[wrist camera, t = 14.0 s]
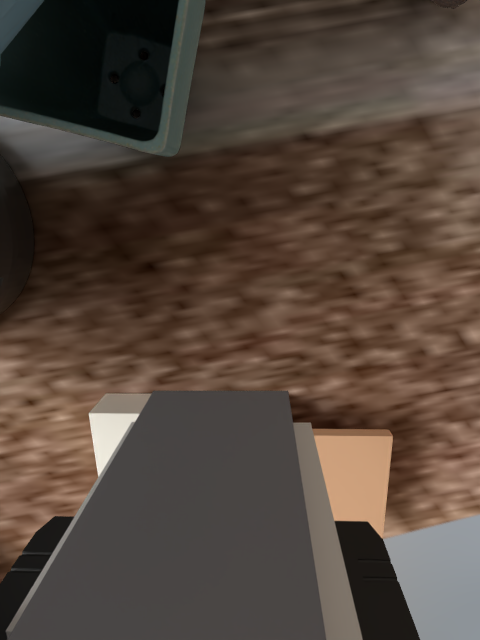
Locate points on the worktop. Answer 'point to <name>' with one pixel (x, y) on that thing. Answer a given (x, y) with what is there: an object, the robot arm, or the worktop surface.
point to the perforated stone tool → (449, 3)
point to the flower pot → (105, 70)
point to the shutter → (356, 472)
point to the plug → (189, 532)
